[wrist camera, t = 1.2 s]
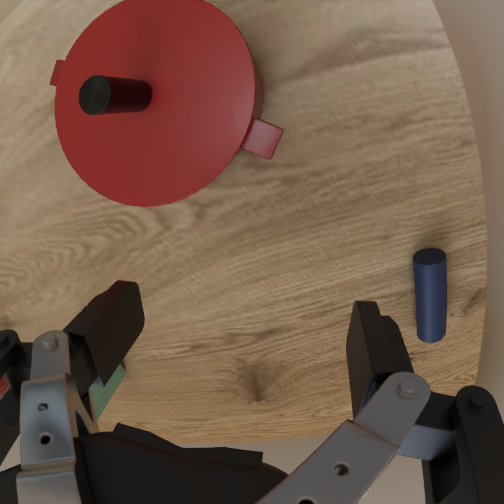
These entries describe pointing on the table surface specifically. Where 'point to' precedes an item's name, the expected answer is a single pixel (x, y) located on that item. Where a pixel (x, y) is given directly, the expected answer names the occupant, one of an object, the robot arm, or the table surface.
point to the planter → (3, 387)
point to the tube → (430, 294)
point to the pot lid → (155, 100)
